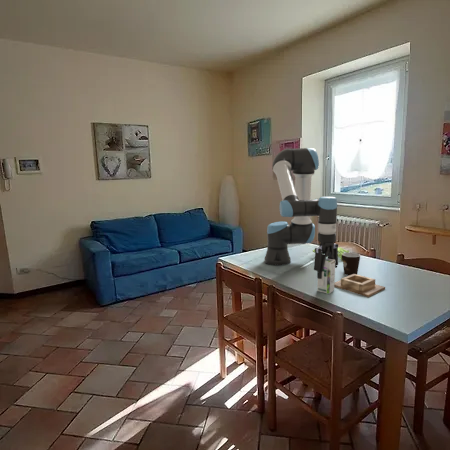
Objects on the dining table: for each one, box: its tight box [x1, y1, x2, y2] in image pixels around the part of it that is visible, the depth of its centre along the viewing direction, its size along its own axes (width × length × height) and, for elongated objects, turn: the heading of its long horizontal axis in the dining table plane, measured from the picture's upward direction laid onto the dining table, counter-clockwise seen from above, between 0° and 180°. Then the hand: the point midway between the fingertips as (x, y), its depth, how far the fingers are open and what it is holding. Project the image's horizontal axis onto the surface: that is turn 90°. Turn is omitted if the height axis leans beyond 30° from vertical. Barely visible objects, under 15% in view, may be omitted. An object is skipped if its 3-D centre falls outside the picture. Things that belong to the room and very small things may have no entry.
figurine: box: [312, 246, 350, 262], centre depth 203 cm, size 18×27×6 cm
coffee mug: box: [341, 252, 361, 276], centre depth 169 cm, size 12×9×10 cm
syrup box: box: [316, 257, 336, 295], centre depth 145 cm, size 6×6×14 cm
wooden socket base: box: [334, 273, 386, 298], centre depth 149 cm, size 18×14×4 cm
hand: (325, 283), depth 146 cm, fingers open, 7 cm apart
